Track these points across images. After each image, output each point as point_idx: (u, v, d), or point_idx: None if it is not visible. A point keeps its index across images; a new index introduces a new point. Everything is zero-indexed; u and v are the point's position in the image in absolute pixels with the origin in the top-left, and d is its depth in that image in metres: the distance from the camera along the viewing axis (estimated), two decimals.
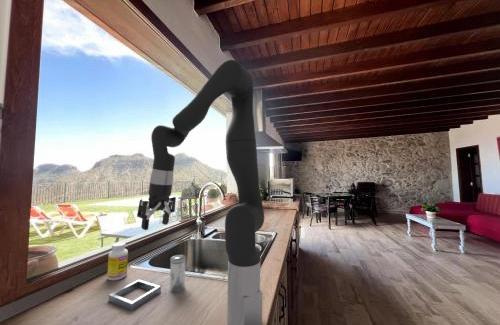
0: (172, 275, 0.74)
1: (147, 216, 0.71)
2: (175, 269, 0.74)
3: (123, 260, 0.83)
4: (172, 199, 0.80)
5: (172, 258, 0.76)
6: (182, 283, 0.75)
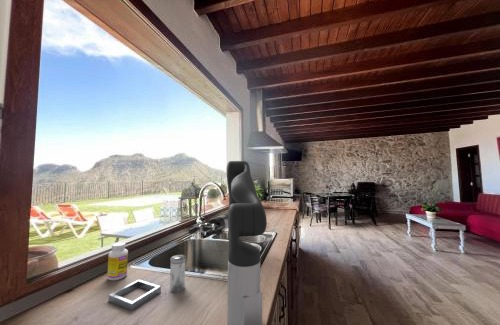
0: (172, 275, 0.74)
1: None
2: (175, 269, 0.74)
3: (123, 260, 0.83)
4: None
5: (172, 258, 0.76)
6: (182, 283, 0.75)
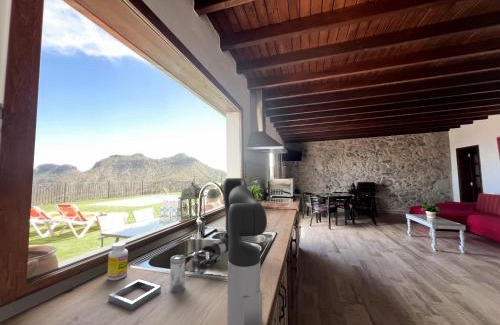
0: (172, 275, 0.74)
1: None
2: (175, 269, 0.74)
3: (123, 260, 0.83)
4: None
5: (172, 258, 0.76)
6: (182, 283, 0.75)
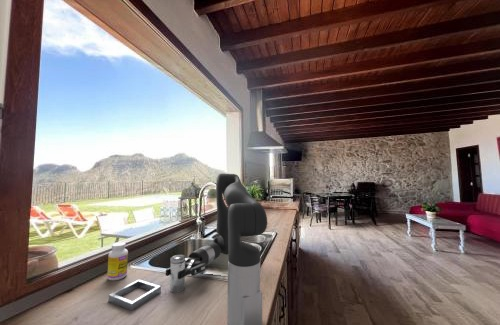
0: (172, 275, 0.74)
1: None
2: (175, 269, 0.74)
3: (123, 260, 0.83)
4: None
5: (172, 258, 0.76)
6: (182, 283, 0.75)
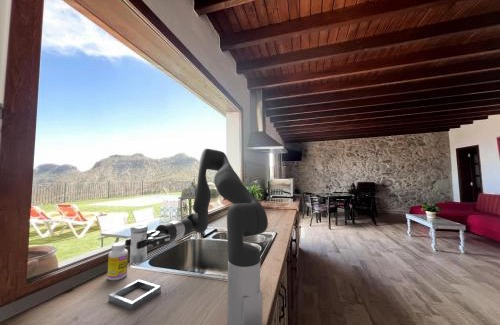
0: (132, 245, 0.70)
1: None
2: (135, 238, 0.70)
3: (123, 260, 0.83)
4: None
5: (132, 228, 0.71)
6: (143, 254, 0.71)
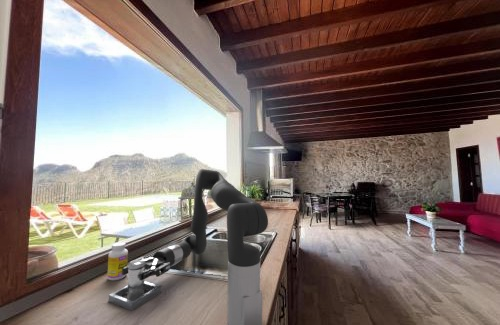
0: (129, 282, 0.69)
1: None
2: (132, 275, 0.69)
3: (123, 260, 0.83)
4: None
5: (130, 264, 0.71)
6: (140, 291, 0.70)
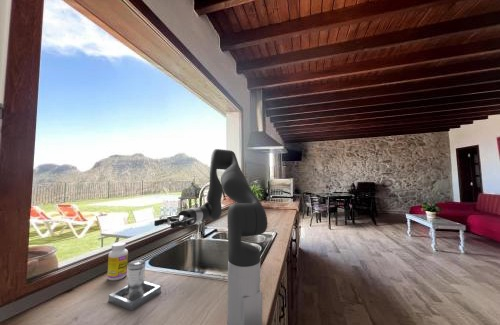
0: (129, 282, 0.69)
1: None
2: (132, 275, 0.69)
3: (123, 260, 0.83)
4: None
5: (130, 264, 0.71)
6: (140, 291, 0.70)
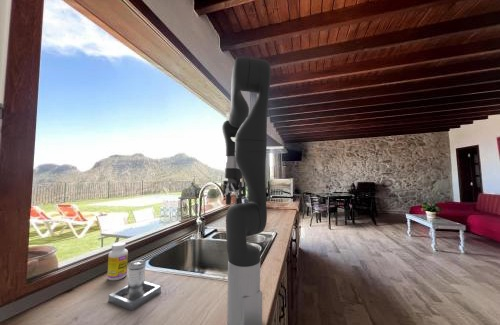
0: (130, 282, 0.69)
1: (225, 193, 0.92)
2: (133, 275, 0.69)
3: (123, 260, 0.83)
4: None
5: (130, 264, 0.71)
6: (140, 291, 0.70)
